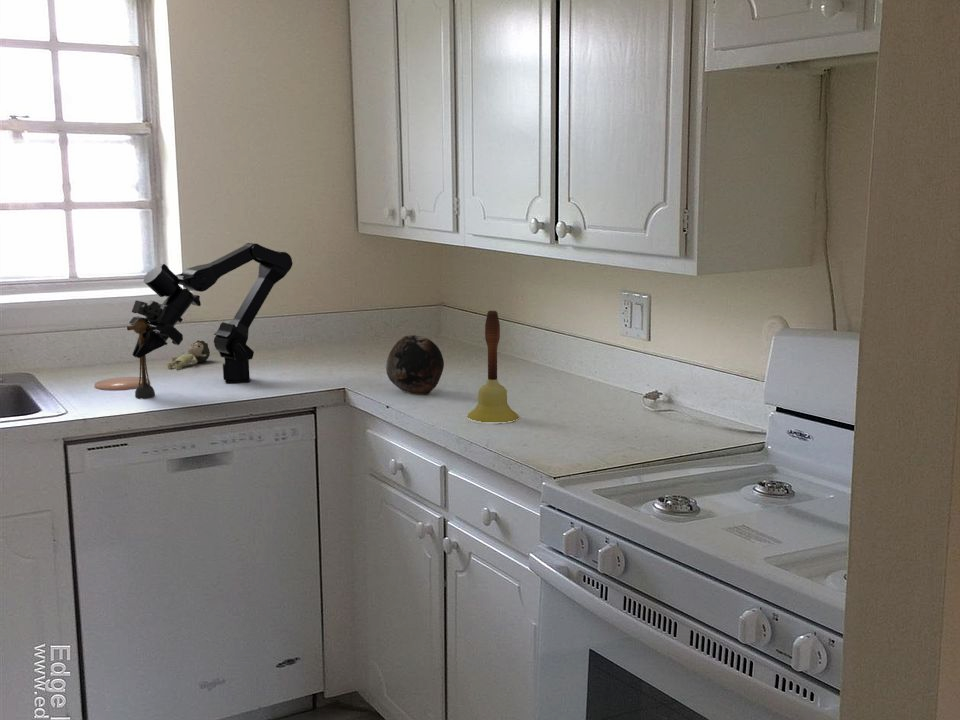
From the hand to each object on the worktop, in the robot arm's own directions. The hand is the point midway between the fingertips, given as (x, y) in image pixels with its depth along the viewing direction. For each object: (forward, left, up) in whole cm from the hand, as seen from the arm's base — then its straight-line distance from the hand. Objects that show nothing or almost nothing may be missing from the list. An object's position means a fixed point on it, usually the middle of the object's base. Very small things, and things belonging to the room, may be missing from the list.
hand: (135, 356), depth 260 cm
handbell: (-80, +45, -11) cm, 93 cm away
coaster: (+5, -18, -11) cm, 21 cm away
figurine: (-13, -40, -11) cm, 44 cm away
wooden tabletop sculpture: (-1, -1, -11) cm, 11 cm away
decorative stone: (-69, +14, -11) cm, 72 cm away
